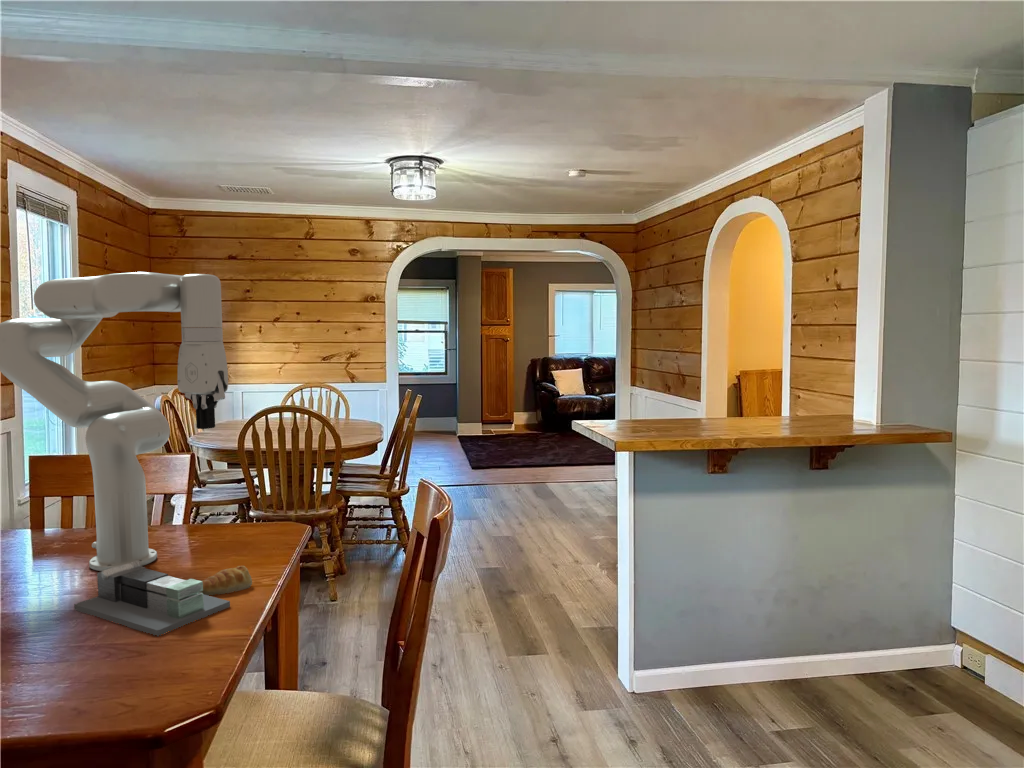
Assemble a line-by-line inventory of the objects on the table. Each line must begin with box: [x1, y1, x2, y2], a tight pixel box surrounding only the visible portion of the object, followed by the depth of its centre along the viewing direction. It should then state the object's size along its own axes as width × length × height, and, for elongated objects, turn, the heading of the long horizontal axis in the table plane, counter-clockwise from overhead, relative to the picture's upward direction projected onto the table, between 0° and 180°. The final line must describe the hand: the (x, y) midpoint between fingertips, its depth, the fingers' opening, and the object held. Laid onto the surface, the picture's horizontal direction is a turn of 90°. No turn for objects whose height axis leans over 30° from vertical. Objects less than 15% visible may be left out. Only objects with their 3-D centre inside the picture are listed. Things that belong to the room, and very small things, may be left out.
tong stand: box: [96, 560, 204, 619], centre depth 127 cm, size 22×6×5 cm, turn 61°
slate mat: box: [73, 594, 231, 637], centre depth 127 cm, size 23×14×1 cm, turn 61°
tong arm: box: [120, 568, 203, 600], centre depth 126 cm, size 16×5×2 cm, turn 61°
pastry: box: [200, 565, 253, 596], centre depth 137 cm, size 9×7×4 cm
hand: (205, 428), depth 146 cm, fingers closed
